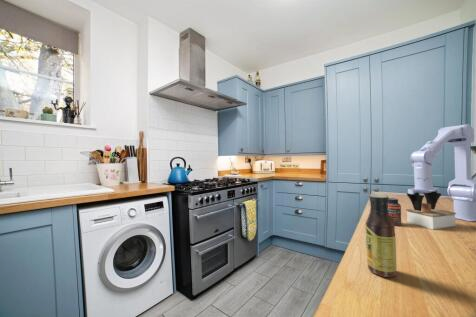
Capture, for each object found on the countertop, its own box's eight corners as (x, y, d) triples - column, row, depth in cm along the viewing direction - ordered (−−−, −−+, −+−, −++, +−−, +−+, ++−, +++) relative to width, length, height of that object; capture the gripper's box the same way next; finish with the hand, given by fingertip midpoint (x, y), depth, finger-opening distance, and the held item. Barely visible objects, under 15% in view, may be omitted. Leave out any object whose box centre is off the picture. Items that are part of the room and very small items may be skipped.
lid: (427, 208, 92) (427, 199, 92) (456, 214, 82) (455, 204, 82) (406, 210, 90) (405, 201, 90) (432, 216, 80) (432, 206, 80)
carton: (428, 220, 92) (427, 209, 92) (455, 226, 82) (455, 214, 82) (407, 222, 89) (406, 211, 90) (433, 229, 80) (432, 217, 80)
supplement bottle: (388, 225, 86) (386, 199, 86) (382, 221, 92) (381, 197, 92) (404, 226, 84) (403, 200, 84) (397, 222, 90) (396, 197, 90)
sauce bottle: (368, 263, 55) (365, 192, 56) (397, 270, 51) (394, 194, 52) (365, 273, 50) (362, 196, 51) (396, 282, 46) (393, 198, 47)
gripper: (420, 179, 80) (421, 213, 80) (447, 178, 83) (448, 210, 83) (402, 178, 87) (403, 209, 87) (428, 177, 90) (429, 207, 90)
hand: (424, 209), depth 85 cm, fingers open, 7 cm apart
